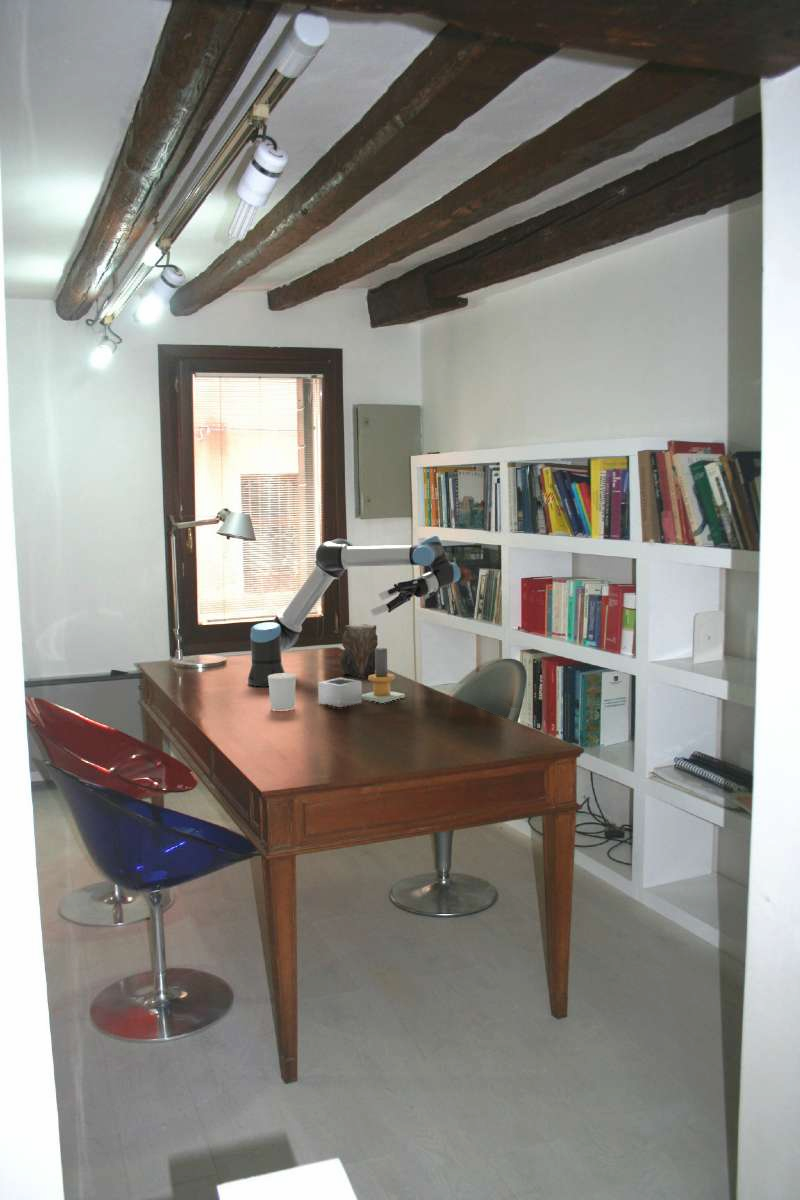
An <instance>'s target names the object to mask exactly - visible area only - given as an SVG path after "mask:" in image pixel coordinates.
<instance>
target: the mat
mask: <svg viewBox="0 0 800 1200" xmlns="http://www.w3.org/2000/svg"><path fill="white" fill-rule="evenodd" d="M404 697H405V698H406V693H402V692H397V691H391V690H390V695H389V696H374V695H373V691H370V692H367V693H366V692H365V693H362V699H365V700H370V701H369V702H371V701H375V702H374V703H376V702H380V703H379V704H381V703H384V702H388V701H392V700H395V701H397V700H396V699H399V698H403V699H405V698H404ZM365 700H364V701H365ZM399 700H400V699H399ZM392 702H393V701H392ZM388 703H389V702H388ZM384 704H385V703H384Z"/></svg>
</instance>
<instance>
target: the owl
mask: <svg viewBox="0 0 800 1200" xmlns="http://www.w3.org/2000/svg"><path fill="white" fill-rule="evenodd" d="M344 629H345V631H344V633H343V635H342V639H341V642H342V647H343V649H344V650H343V652H342V655H341V659H340V664H341V668H342V671H343V675H345V674H349V675H348V676H350V675H355V676H360V677H359V678H362V677H363V676H365V677H367V676H366V675H368V676H369V675H370V674H371V675H372V673H374V674H375V649H376V648H378V647H377V646H378V638H379V637H378V635H377V625H376V624H375V625H371V624H364V623H363V624H360V625H350V624H348V625H345V626H344ZM355 676H354V677H355ZM363 678H364V677H363Z"/></svg>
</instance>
